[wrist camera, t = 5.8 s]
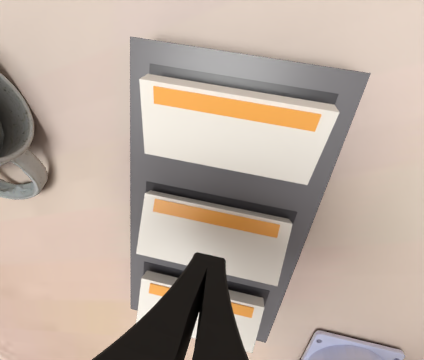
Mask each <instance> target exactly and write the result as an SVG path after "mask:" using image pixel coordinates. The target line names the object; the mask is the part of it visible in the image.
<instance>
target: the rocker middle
mask: <svg viewBox="0 0 424 360" xmlns="http://www.w3.org/2000/svg"><path fill="white" fill-rule="evenodd" d="M292 225H293V224H292V222H291V221H290V219H287V218H282V217H277V216H272V215H268V214H263V213H258V212H253V211H248V210H243V209H239V208H234V207H229V206H224V205H219V204H214V203H210V202H205V201H200V200H195V199H190V198H185V197H181V196H176V195H171V194H166V193H161V192H156V191H152V190H150V191H148V192H146V193H145V195H144V202H143V209H142V216H141V223H140V230H139V237H138V244H137V251H136V254H139V255H144V256H148V257H152V258H157V259H161V260H165V261H170V262H174V263H178V264H183V265H188V264H189V262H190V261H191V259H192V257H193V255H194V254H195V253H197V252H199V253H203V254H208V255H212V256H217V257H221V258H224V259H225V260H226V275H230V276H235V277H239V278H243V279H248V280H252V281H256V282H261V283H265V284H269V285H274V286H278V282H279V278H280V274H281V270H282V266H283V262H284V258H285V253H286V249H287V245H288V241H289V237H290V233H291V229H292Z"/></svg>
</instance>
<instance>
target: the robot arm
mask: <svg viewBox="0 0 424 360" xmlns="http://www.w3.org/2000/svg"><path fill="white" fill-rule="evenodd" d="M198 314H199V318H198V326H197V333H196V341H195V348H194V354H193V358H192V360H249V359H248V357H247V354H246V351H245V349H244V346H243V343H242V340H241V337H240V334H239V330H238V327H237V324H236V320H235V316H234V313H233V308H232V304H231V300H230V295H229V290H228V284H227V277H226V260H225V259H224V258H221V257H217V256H212V255H208V254H203V253H199V252H197V253H195V254H194V255H193V257H192V259H191V261H190V262H189V264H188V265H187V267H186V268H185V270H184V271H183V272H182V274H181V275H180V276H179V278H178V279H177V280H176V281H175V283H174V284H173V285H172V286H171V288H170V289H169V290H168V291H167V292H166V293H165V294H164V295H163V297H162V298H161V299H160V300H159V301H158V302H157V303H156V304H155V305H154V306H153V307H152V308H151V309H150V310H149V311H148V312H147V313H146V314H145V315H144V316H143V317H142V318H141V319H140V320H139V321H138V322H137V323H136V324H135V325H134V326H133V327H131V328H130V329H129V330H128V331H127V332H126V333H125V334H123V335H122V336H121V337H120V338H119V339H118V340H116V341H115V342H114V343H113V344H112V345H110V346H109V347H108V348H106V349H105V350H104V351H102V352H101V353H100V354H99V355H97V356H96V357H95V358H93V359H92V360H184V358H185V355H186V352H187V349H188V346H189V342H190V339H191V336H192V333H193V330H194V327H195V323H196V320H197V317H198ZM404 358H405V355H404V353H403V351H402V350H399V349H395V348H391V347H387V346H383V345H378V344H374V343H370V342H366V341H362V340H358V339H354V338H350V337H345V336H341V335H337V334H333V333H329V332H325V331H320V330H319V331H316V332H315V333H314V335H313V337H312V339H311V341H310V343H309V345H308V347H307V348H306V350H305V352H304V354H303V356H302V358H301V360H403V359H404Z"/></svg>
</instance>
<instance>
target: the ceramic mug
mask: <svg viewBox="0 0 424 360" xmlns="http://www.w3.org/2000/svg"><path fill="white" fill-rule="evenodd" d="M33 137H34V120H33V117H32V114H31V111H30V108H29V106H28V105H27V103H26V101H25V99H24V98H23V96H22V95H21V94H20V92H19V91H18V90H17V88H16V87H15V86H14V85H13V84H12V83H11V82H10V81H9V80H8V79H7V78H6V77H5V76H4V75H3V74H1V73H0V165H3V164H5V163H8V162H12V163H14V164H15V165H17V166H18V167H20V168H21V169H22V170H23V172H24V173H25V174H26V175H27V176H28V177H29V178H30V179H31V180H32V182H31V183H27V184H18V185H17V184H12V183H9V182H6V181H4V180H2V179H0V197H3V198H8V199H28V198H31V197H34V196H36V195H37V194H39V193H40V191H41V190H42V188H43V187H44V185H45V183H46V182H47V179H48V176H47V171H46V168H45V166H44V165H43V164H42V163H41V161H40V160H39V159H38V158H37V157H36V156H35V155H34V154H33V153H32V152H31V151H30V150H29V149H28V148H29V146H30V144H31V143H32V140H33Z"/></svg>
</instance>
